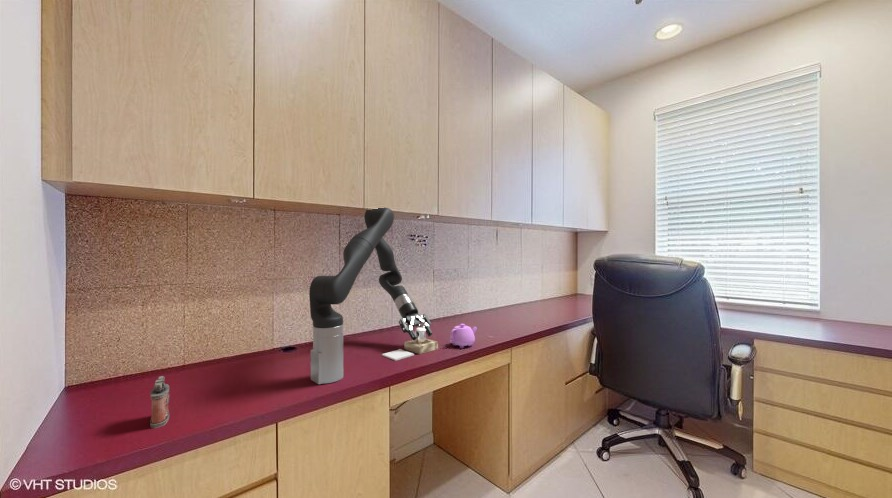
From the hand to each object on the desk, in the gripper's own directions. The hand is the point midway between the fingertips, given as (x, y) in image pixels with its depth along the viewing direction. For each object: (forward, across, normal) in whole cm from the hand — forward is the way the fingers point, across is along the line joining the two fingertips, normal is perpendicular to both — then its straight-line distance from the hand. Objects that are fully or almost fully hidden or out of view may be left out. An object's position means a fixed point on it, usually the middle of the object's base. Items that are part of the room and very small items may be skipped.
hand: (423, 337), depth 137 cm
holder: (+3, 0, +5) cm, 5 cm away
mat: (+3, -12, +5) cm, 13 cm away
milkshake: (+3, 0, +5) cm, 6 cm away
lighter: (+2, -83, +6) cm, 83 cm away
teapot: (+9, +17, -2) cm, 19 cm away
